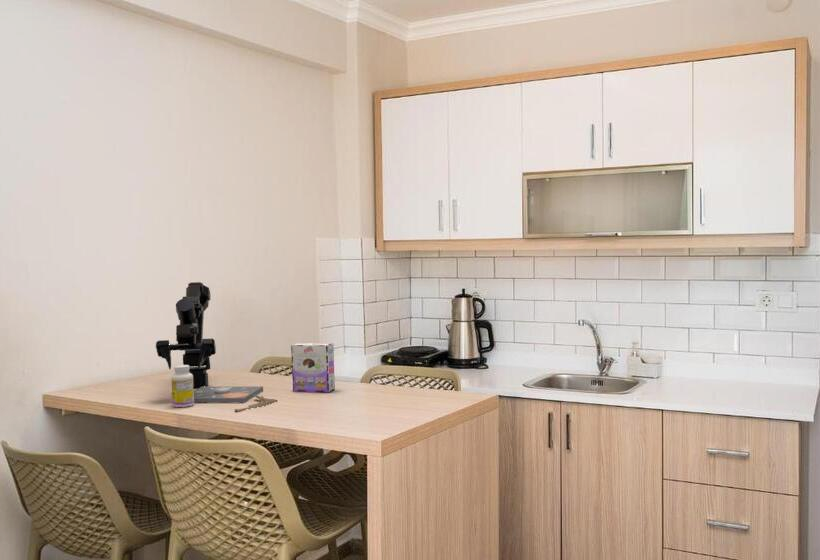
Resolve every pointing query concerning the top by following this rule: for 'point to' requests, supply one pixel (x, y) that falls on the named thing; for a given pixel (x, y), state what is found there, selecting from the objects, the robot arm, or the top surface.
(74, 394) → the top surface
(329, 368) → the candy box
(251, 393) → the dial board
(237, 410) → the brown flat branched piece
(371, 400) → the top surface
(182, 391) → the supplement bottle
